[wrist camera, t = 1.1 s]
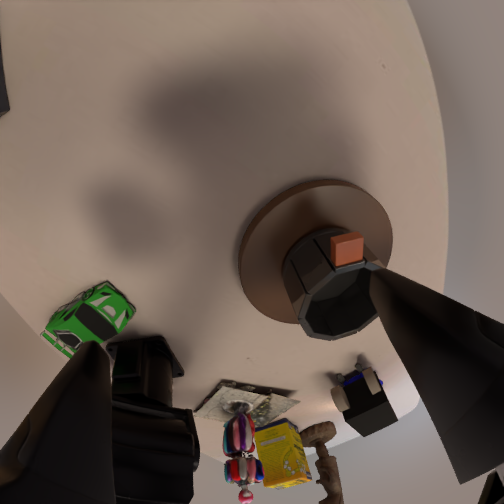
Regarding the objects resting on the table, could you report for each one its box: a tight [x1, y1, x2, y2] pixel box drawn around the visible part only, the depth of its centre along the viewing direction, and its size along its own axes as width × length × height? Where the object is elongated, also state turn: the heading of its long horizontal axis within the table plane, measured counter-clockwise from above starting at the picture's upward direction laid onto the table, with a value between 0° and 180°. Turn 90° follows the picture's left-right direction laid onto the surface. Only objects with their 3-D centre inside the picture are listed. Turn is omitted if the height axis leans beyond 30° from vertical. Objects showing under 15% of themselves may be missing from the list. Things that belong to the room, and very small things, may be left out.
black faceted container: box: [282, 228, 385, 341], centre depth 19 cm, size 8×7×4 cm
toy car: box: [40, 282, 136, 359], centre depth 21 cm, size 10×5×2 cm, turn 118°
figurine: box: [299, 421, 344, 504], centre depth 37 cm, size 9×8×20 cm
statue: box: [193, 382, 301, 504], centre depth 28 cm, size 11×9×15 cm
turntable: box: [238, 180, 393, 324], centre depth 22 cm, size 13×13×1 cm
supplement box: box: [254, 418, 312, 489], centre depth 36 cm, size 6×6×11 cm
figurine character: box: [331, 364, 398, 437], centre depth 33 cm, size 7×8×15 cm
